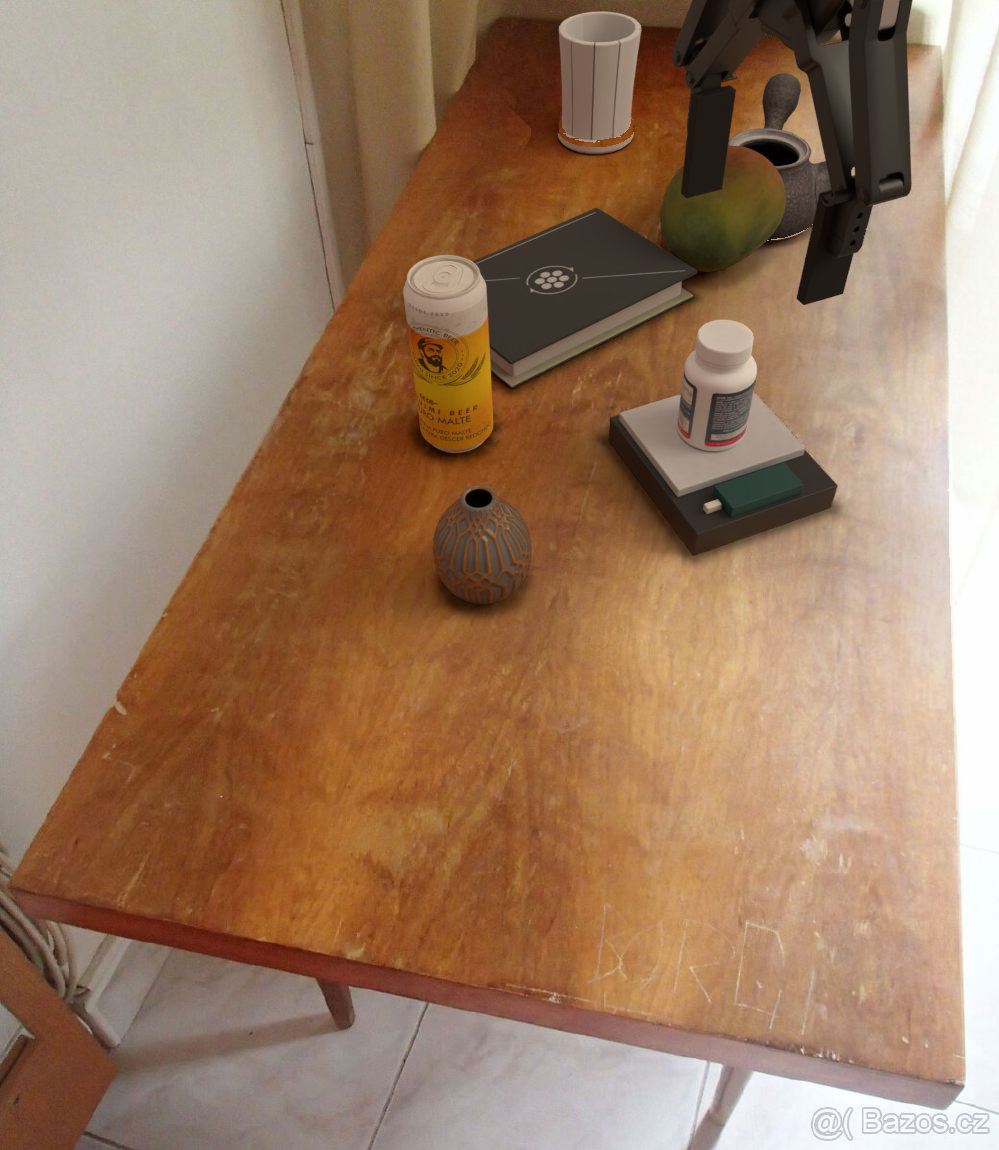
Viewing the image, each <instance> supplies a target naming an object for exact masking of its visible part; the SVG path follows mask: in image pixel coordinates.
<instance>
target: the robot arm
mask: <svg viewBox="0 0 999 1150" xmlns="http://www.w3.org/2000/svg"><path fill="white" fill-rule="evenodd" d="M912 5H913V0H691V2H690V5H689V8H688V11H687V12H686V16H685V18H684V20H683V22H682V26H681V28H680V30H679V33H678V36H677V39H676V41H675V43H674V45H673V48H672V54H671V60H672V63H673V65H674V66H675V68H682V67H683V69H684V70H685V83H686V86H687V88H688V89H690V91H689V93H690V94H689V100H688V101H689V103H688V112H687V121H686V143H685V151H684V161H683V166H684V169H683V178H682V187H681V194H682V195H683V196H684V197H685V198H690V197H694V196H698V195H702V194H706V193H710V192H714V191H718V190H721V189H722V185H723V178H724V171H725V164H726V157H727V150H728V143H729V140H730V136H731V128H732V123H733V122H732V121H733V114H734V108H735V99H736V93H737V89H736V88H734V87H733V86H732V85H731V84H728V85H724V86H722V83H725V82H729V81H735V80H737V79H738V78H739V77H738V76H737V69H738V68H739V67H740V66H741V64H742V63H743V62H744V61H745V60H746V59H747V57H748V56H749V54H750V53H751V52H752V51H754V49H755V47H756V46H757V45H758V44H759V43H760V41H761V40H762V39H763V38H764V36H765V35H768V36H772V37H773V36H774V37H777V38H778V39H779V41H780V42H781V43H782V44H783V45H784V46H785V47H786V48H788V49H789V50H791V51H793V54H794V59H795V63H796V66H797V69H799V70H800V71H801V72H802V73H805V74H806V76H807V80H808V83H809V89H810V94H811V99H812V103H813V108H814V113H815V117H816V121H817V127H818V132H819V136H820V141H821V145H822V149H823V150H822V151H823V156H824V159H825V160H824V161H826V165H827V170H828V174H829V179H830V184H831V189H832V190H830V191H826V192H822V193H820V194H819V199H818V203H817V208H816V212H815V217H814V221H813V225H812V226H811V231H810V234H809V235H810V236H809V239H808V240H809V241H808V244H807V249H806V253H805V258H804V262H803V266H802V272H801V275H800V281H799V285H798V290H797V294H796V298H795V299H796V300H797V301H798V302H799V303H801V304H802V306H807V305H810V304H813V303H817V302H820V301H823V300H827V299H831V298H834V297H837V296H840V295H843V294H844V292H845V289H846V288H845V287H846V285H847V281H848V278H849V273H850V269H851V266H852V261H853V258H854V254H856V253H857V254H858V253H859V251H860V250H861V249H862V247H863V246H864V245H863V244H864V241H865V236H866V234H867V233H866V232H867V229H868V226H869V223H870V219H871V214H872V210H873V207H874V206H876V205H880V204H884V203H887V202H891V201H894V200H898V199H901V198H905V197H907V196H909V195H910V193H911V191H912V186H913V185H912V184H913V183H912V156H911V152H912V151H911V128H910V127H911V125H910V123H911V121H910V95H909V66H908V65H909V64H908V62H909V61H908V37H907V36H908V35H907V33H908V27H909V22H910V17H911V10H912ZM838 33H840V34H839V35H840V39H841V41H837V42H832V43H829V42H830V41H831V40H832V39H834V37H836V35H837V34H838ZM827 43H828V44H827ZM735 75H736V76H735ZM853 169H854V174H853V175H852V170H853Z"/></svg>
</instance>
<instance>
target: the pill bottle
mask: <svg viewBox="0 0 999 1150" xmlns="http://www.w3.org/2000/svg"><path fill="white" fill-rule="evenodd" d="M754 340H755V338H754V333H753V332H752V330H751V329H750V328H749V327H748V326H747V325H745V324H743V323H742V322H739V321H735V320H731V319H715V320H711V321H707V322H706V323H703V325H702V326H700V327H699V329H698V330H697V333H696V340H695V344H694V350H692V351H691V353H690V354H689V355H688V356H687V358H686V360H685V362H684V366H683V374H682V381H681V388H680V389H681V390H680V394H681V397H680V405H679V413H678V422H677V428H678V432H679V434H680V436H681V437H682V439H683V440H684V441H686V442H687V443H688V444H690V445H691V446H693V447H696V448H698V449H702V450H706V451H722V450H727V449H730V448H732V447H734V446H736V445H737V444H738V443H740V441H741V440H742V439H743V437H744V435H745V432H746V428H747V423H748V417H749V412H750V407H751V402H752V397H753V392H754V390H755V386H756V381H757V375H758V366H757V362H756V360H755V359H754V357H753V355H752V354H753V353H752V352H753V346H754Z"/></svg>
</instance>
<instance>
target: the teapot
mask: <svg viewBox="0 0 999 1150" xmlns="http://www.w3.org/2000/svg"><path fill="white" fill-rule="evenodd" d="M801 92H802V86H801V82H800V80H799V78H797V77H796V76H794V75H793V74H791V73H787V72H782V73H781V72H780V73H777V74H774V75H772V76H771V77H770V78H769V79H768V80H767V83H766V84H765V86H764V89H763V94H762V101H761V102H762V103H761V104H762V109H763V116H764V126H763V127H762V128H759V127H758V128H753V129H747V130H744V131H741V132H737V133H735V135H733V136H731V137H729V143H728V145H731V146H741V147H746V148H749V149H752V150H754V151H756V152H758V153H760V154H761V155H763V156H764V157H766V158H767V159H768V160H769V161H770V162H771V163H772V164H773V165H774V166H775V167H776V169H777V170H778V172H779V174H780V175H781V177H782V180H783V182H784V186H785V191H786V207H785V212H784V214H783V217H782V220H781V223H780V224H779V226H778V228H777V229H776V231H775V232H774V233H773V234H772V235H771V236H770V237H769V239H768V240H769V241H768V242H777V241H779V240H771V239H777V238H785V237H788V236H791V235H794V234H796V233H799V232H801V231H803V230H806V229H807V228H809V227H810V226H811V225H812V224H813V221H814V217H815V212H816V208H817V203H818V199H819V194H820V193H822V192H826V191H830V190H832V189H831V184H830V179H829V174H828V170H827V165H826V160H824V161H821V162H816V163H815V162H814V163H813V162H811V160H810V158H811V156H812V149H811V147H810V144H809V143H808V141H806V140H805V139H804V138H802V137H800V136H798V135H797V134H795V133H793V132H791V131H788V130H783V128H784V126H785V124H786V122H787V121H788V120H789V118H790V116H791V115H793V113H794V112H795V111H796V109H797V107H798V104H799V100H800V96H801ZM812 226H813V225H812ZM812 226H811V227H812ZM811 227H810V228H811ZM810 228H809V229H810ZM806 231H807V230H806ZM802 234H803V233H801V234H798V235H796V236H793V237H790V238H786V239H785V240H789V239H793V238H795V237H798V236H799V235H802ZM780 241H784V239H781V240H780Z"/></svg>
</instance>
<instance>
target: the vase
mask: <svg viewBox="0 0 999 1150" xmlns="http://www.w3.org/2000/svg"><path fill="white" fill-rule="evenodd" d="M532 548H533V547H532V538H531V534H530V530H529V528H528V525H527V523H526V520H525V519H524V517H523V515H522V514H521V513H520V511H519V510H518V509H517V508H516V507H515V506H514V505H513V504H512V503H511V502H509V501H508V500H506V499H505V498H503V497H501V496H499V495H498V494H497V492H496V491H495V490H494V489H493V488H492V487H490V486H488V485H483V484H475V485H472V486H469V487H467V488H465V489H464V490H463V491H462V493H461V495H460V496H459V498H458V499H457V500H455V501H453V502H452V503H451V504H450V505H449V506H448V507H447V508H446V509H445V510H444V512H443V513H442V514H441V516H440V518H439V519H438V522H437V524H436V526H435V530H434V534H433V538H432V557H433V562H434V565H435V569H436V572H437V574H438V576H439V578H440V580H441V581H442V583H443V584H444V586H445V587H446V588H447V589H448V590H449V591H450V592H451V593H452V594H453V595H454V596H456V597H457V598H459V599H461V600H463V601H466V602H469V603H472V604H477V605H489V604H494V603H498V602H500V601H503V600H504V599H507V598H508V597H510V596H511V595H513V594H514V593H516V591H517V590H519V588H520V587H521V585H522V584H523V582H524V581H525V579H526V577H527V574H528V572H529V569H530V566H531V562H532Z"/></svg>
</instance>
